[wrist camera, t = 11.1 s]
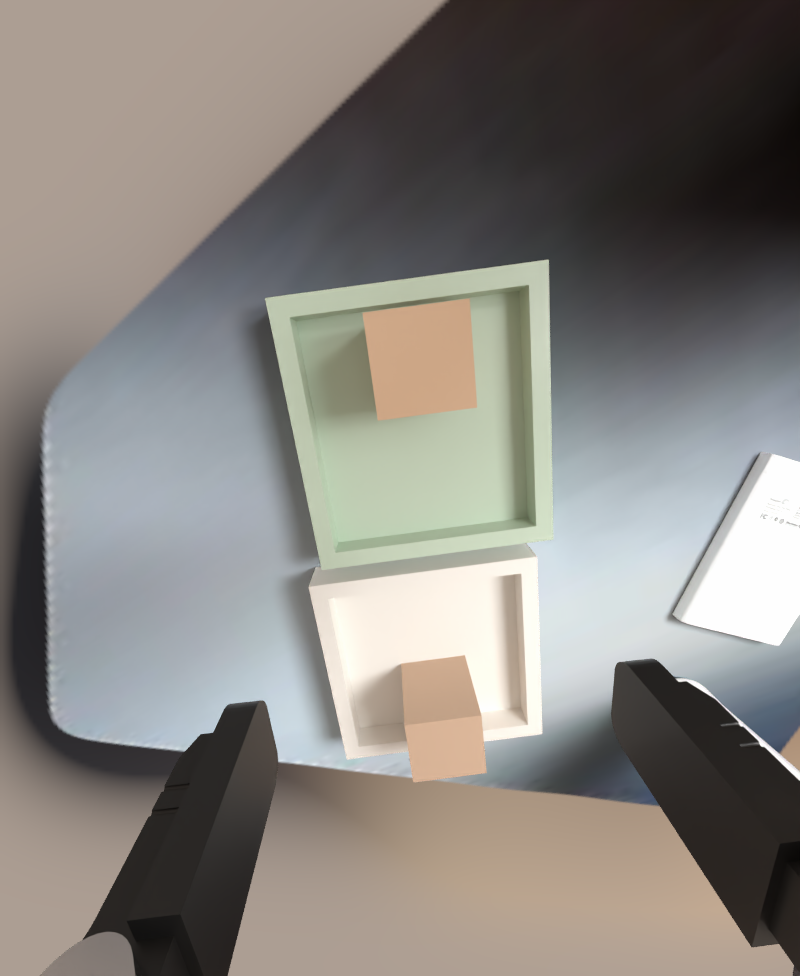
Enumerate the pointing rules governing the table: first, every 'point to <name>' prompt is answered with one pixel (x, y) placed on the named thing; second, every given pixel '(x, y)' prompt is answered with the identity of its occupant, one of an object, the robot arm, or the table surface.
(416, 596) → the tray
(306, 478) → the tray
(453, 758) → the tan block
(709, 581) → the external hard drive
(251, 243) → the table surface
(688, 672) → the table surface
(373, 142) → the table surface
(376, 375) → the tan boxy piece
